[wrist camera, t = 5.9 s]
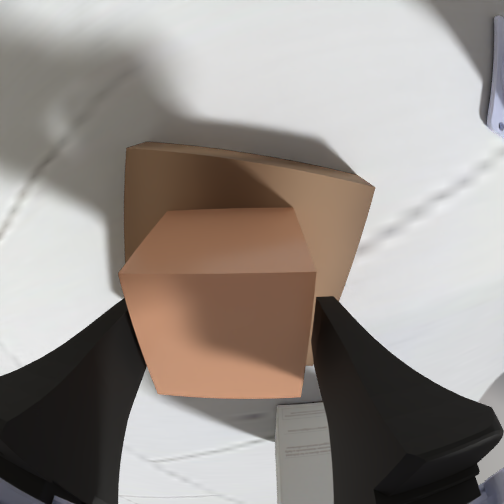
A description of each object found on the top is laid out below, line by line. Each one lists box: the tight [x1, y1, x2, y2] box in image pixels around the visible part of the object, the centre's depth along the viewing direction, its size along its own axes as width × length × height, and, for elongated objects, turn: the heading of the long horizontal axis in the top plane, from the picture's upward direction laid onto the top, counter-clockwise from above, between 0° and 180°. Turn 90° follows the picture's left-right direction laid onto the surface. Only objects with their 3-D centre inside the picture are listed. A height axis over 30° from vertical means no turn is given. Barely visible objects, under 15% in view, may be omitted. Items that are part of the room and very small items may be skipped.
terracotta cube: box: [118, 207, 316, 399], centre depth 10 cm, size 5×5×5 cm
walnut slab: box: [124, 142, 375, 366], centre depth 14 cm, size 10×10×3 cm
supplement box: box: [275, 402, 334, 504], centre depth 17 cm, size 7×7×13 cm
